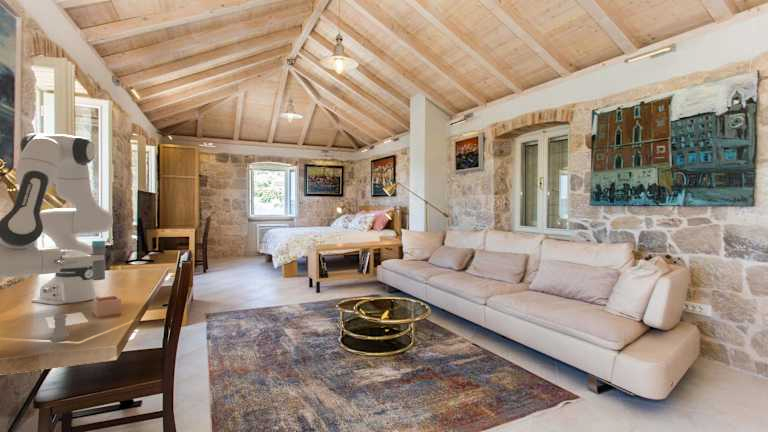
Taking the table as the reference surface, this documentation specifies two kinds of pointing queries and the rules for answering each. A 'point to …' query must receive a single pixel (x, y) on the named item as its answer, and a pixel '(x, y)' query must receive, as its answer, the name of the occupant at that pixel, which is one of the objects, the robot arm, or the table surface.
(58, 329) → the rook chess piece
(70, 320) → the drawing board
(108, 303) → the pen cup
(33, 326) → the table surface
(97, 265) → the marker
